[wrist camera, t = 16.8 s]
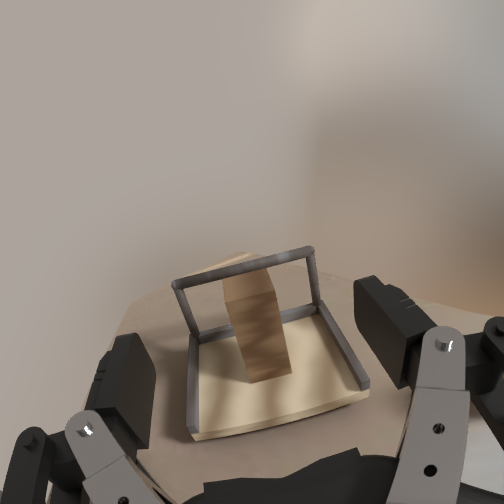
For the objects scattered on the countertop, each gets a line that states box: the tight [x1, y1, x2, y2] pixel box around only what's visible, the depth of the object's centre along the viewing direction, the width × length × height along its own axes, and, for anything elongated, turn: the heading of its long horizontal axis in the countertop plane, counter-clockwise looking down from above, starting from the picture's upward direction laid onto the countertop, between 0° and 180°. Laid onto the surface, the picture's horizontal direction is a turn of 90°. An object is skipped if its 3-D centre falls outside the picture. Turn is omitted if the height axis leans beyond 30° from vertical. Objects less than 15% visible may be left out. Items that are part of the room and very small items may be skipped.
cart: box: [171, 246, 370, 441], centre depth 36 cm, size 20×17×14 cm
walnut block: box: [222, 268, 292, 384], centre depth 35 cm, size 5×5×12 cm
